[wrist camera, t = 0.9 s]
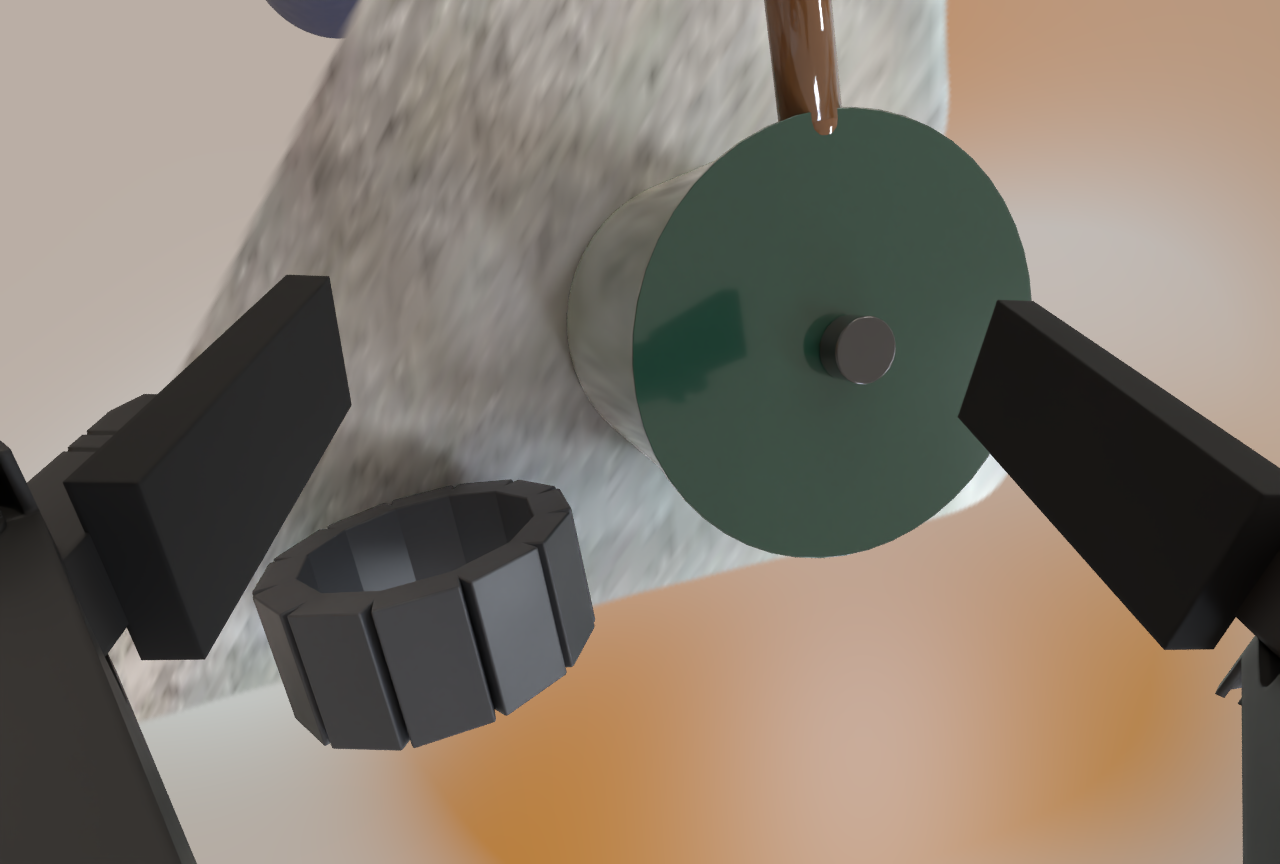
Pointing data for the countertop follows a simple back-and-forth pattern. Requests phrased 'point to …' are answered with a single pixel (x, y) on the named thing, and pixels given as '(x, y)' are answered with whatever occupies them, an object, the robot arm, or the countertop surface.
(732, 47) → the countertop surface
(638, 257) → the saucepan
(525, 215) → the countertop surface
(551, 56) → the countertop surface
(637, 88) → the countertop surface
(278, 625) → the tire
